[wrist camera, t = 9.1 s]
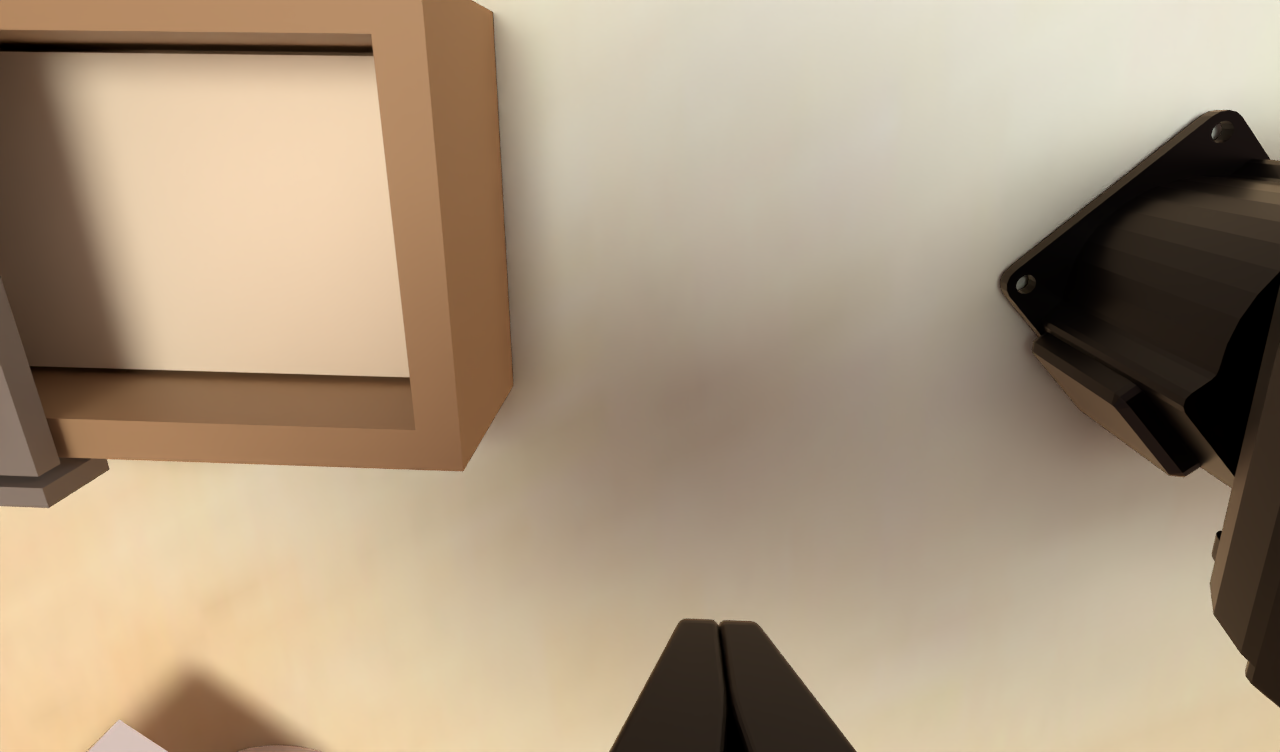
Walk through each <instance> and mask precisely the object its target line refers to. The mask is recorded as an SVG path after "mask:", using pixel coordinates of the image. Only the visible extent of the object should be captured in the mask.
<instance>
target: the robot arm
mask: <svg viewBox="0 0 1280 752" xmlns="http://www.w3.org/2000/svg"><path fill="white" fill-rule="evenodd" d="M1218 123H1220V124H1221V127H1222V131H1221V134H1220V135H1219V137H1218V138H1217V139H1216V140H1214V141H1213V140H1212V136H1211V134H1212V130H1213V128H1214V127H1215V126H1216V125H1217V124H1218ZM1025 275H1028V278H1029V281H1028V284H1027V285H1026V287H1025V288H1023V289H1021V290H1017V288H1016V284H1017V281H1018V280H1019V279H1020V278H1021V277H1023V276H1025ZM1000 288H1001V290H1002V292H1003V294H1004V295H1005V296H1006V298H1007V299H1008V300H1009V301H1010V303H1011V304H1012V305H1013V306H1014V307H1015V309H1016V310H1017V311H1018V312H1019V314H1020V315H1021V316H1022V317H1023V319H1024V320H1025V321H1026V322H1027V323H1028V325H1029V326H1030V327H1031V328H1032V330H1033V331H1034V332H1035V333H1036V334H1037V336H1038V338H1037V339H1036V340H1034V341H1033V347H1032V353H1033V354H1034V355H1035V357H1036V358H1037V359H1038V360H1039V361H1040V363H1041V364H1042V365H1043V366H1044V367H1045V369H1046V370H1047V371H1048V372H1049V374H1050V375H1051V376H1052V377H1053V378H1054V380H1055V381H1056V382H1057V383H1058V384H1059V386H1060V387H1061V388H1062V389H1063V390H1064V392H1065V393H1066V394H1067V395H1068V397H1069V398H1070V399H1071V400H1072V401H1073V403H1074V404H1075V405H1076V406H1077V407H1078V409H1079V410H1080V411H1082V412H1083V413H1084V414H1086V415H1087V416H1089V417H1090V418H1091V419H1093V420H1094V421H1095V422H1097V423H1098V424H1099V425H1101V426H1102V427H1103V428H1105V429H1106V430H1108V431H1109V432H1110V433H1112V434H1113V435H1114V436H1116V437H1117V438H1118V439H1120V440H1121V441H1123V442H1124V443H1125V444H1127V445H1128V446H1129V447H1131V448H1132V449H1133V450H1135V451H1136V452H1138V453H1139V454H1140V455H1142V456H1143V457H1144V458H1146V459H1147V460H1148V461H1150V462H1151V463H1152V464H1154V465H1155V466H1157V467H1158V468H1159V469H1161V470H1162V471H1163V472H1165V473H1166V474H1167V475H1169V476H1178V477H1185V476H1187V475H1188V474H1190V473H1192V472H1193V471H1195V470H1196V469H1198V468H1199V467H1201V468H1202V469H1204V470H1205V471H1207V472H1208V473H1210V474H1211V475H1213V476H1214V477H1216V478H1217V479H1219V480H1220V481H1222V482H1223V483H1225V484H1226V485H1228V486H1229V487H1231V488H1232V491H1231V495H1230V499H1229V503H1228V508H1227V512H1226V516H1225V520H1224V525H1223V529H1222V531H1218V532H1217V533H1216V537H1215V541H1214V546H1213V550H1212V557H1213V559H1214V561H1215V563H1214V567H1213V572H1212V576H1211V580H1210V589H1211V598H1212V606H1213V614H1214V616H1215V617H1216V619H1217V620H1218V621H1219V623H1220V624H1221V626H1222V627H1223V629H1224V630H1225V631H1226V633H1227V634H1228V636H1229V637H1230V639H1231V640H1232V642H1233V643H1234V644H1235V646H1236V647H1237V649H1238V650H1239V652H1240V653H1241V654H1242V655H1243V656H1244V657H1245V658H1246V659H1247V660H1248V662H1247V665H1246V669H1245V675H1246V677H1247V679H1248V680H1249V681H1250V683H1251V684H1252V685H1253V686H1255V687H1256V688H1257V689H1258V690H1259V691H1260V692H1261V693H1263V694H1264V695H1265V696H1266V697H1268V698H1269V699H1270V700H1271V701H1272V702H1274V703H1275V704H1276V705H1277V706H1279V707H1280V161H1277V160H1270V158H1269V157H1268V155H1267V154H1266V152H1265V151H1264V149H1263V148H1262V146H1261V145H1260V143H1259V142H1258V140H1257V138H1256V137H1255V135H1254V134H1253V132H1252V131H1251V129H1250V128H1249V126H1248V125H1247V123H1246V122H1245V120H1244V119H1243V117H1242V116H1241V115H1240V114H1239V113H1238V112H1235V111H1231V110H1215V111H1209V112H1207V113H1205V114H1203V115H1202V116H1200V117H1199V118H1198V119H1196V120H1195V121H1194V122H1192V123H1191V124H1190V125H1189V126H1187V127H1186V128H1185V129H1184V130H1182V131H1181V132H1180V133H1179V134H1177V135H1176V136H1175V137H1173V138H1172V139H1171V140H1170V141H1168V142H1167V143H1166V144H1165V145H1163V146H1162V147H1161V148H1160V149H1158V150H1157V151H1156V152H1154V153H1153V154H1152V155H1151V156H1149V157H1148V158H1147V159H1146V160H1144V161H1143V162H1142V163H1141V164H1139V165H1138V166H1137V167H1136V168H1134V169H1133V170H1132V171H1130V172H1129V173H1128V174H1127V175H1125V176H1124V177H1123V178H1122V179H1120V180H1119V181H1118V182H1117V183H1115V184H1114V185H1113V186H1111V187H1110V188H1109V189H1108V190H1106V191H1105V192H1104V193H1103V194H1101V195H1100V196H1099V197H1098V198H1096V199H1095V200H1094V201H1092V202H1091V203H1090V204H1089V205H1087V206H1086V207H1085V208H1084V209H1082V210H1081V211H1080V212H1079V213H1077V214H1076V215H1075V216H1073V217H1072V218H1071V219H1070V220H1068V221H1067V222H1066V223H1065V224H1063V225H1062V226H1061V227H1060V228H1058V229H1057V230H1056V231H1054V232H1053V233H1052V234H1051V235H1049V236H1048V237H1047V238H1046V239H1044V240H1043V241H1042V242H1041V243H1039V244H1038V245H1037V246H1035V247H1034V248H1033V249H1032V250H1030V251H1029V252H1028V253H1027V254H1025V255H1024V256H1023V257H1022V258H1020V259H1019V260H1018V261H1017V262H1015V263H1014V264H1013V265H1011V266H1010V267H1009V268H1008V269H1007V270H1006V271H1005V272H1004V273H1003V275H1002V278H1001V280H1000ZM609 752H856V750H855V749H854V748H853V746H852V745H851V744H850V743H849V741H848V740H847V739H846V737H845V736H844V735H843V733H842V732H841V731H840V730H839V728H838V727H837V726H836V724H835V723H834V722H833V720H832V719H831V718H830V717H829V715H828V714H827V713H826V711H825V710H824V709H823V707H822V706H821V705H820V704H819V702H818V701H817V700H816V698H815V697H814V696H813V694H812V693H811V692H810V691H809V689H808V688H807V687H806V685H805V684H804V683H803V681H802V680H801V679H800V678H799V676H798V675H797V674H796V672H795V671H794V670H793V669H792V667H791V666H790V665H789V663H788V662H787V661H786V659H785V658H784V657H783V656H782V654H781V653H780V652H779V650H778V649H777V648H776V646H775V645H774V644H773V643H772V641H771V640H770V639H769V637H768V636H767V635H766V633H765V632H764V631H763V630H762V628H761V627H760V626H759V625H758V624H757V623H755V622H752V621H734V620H723V621H722V622H720V624H719V626H718V624H717V623H716V622H715V621H714V620H710V619H682V620H681V621H680V622H679V623H678V625H677V626H676V628H675V630H674V632H673V634H672V636H671V637H670V639H669V641H668V643H667V645H666V647H665V649H664V651H663V652H662V654H661V656H660V658H659V660H658V662H657V664H656V665H655V667H654V669H653V671H652V673H651V675H650V677H649V679H648V680H647V682H646V684H645V686H644V688H643V690H642V692H641V693H640V695H639V697H638V699H637V701H636V703H635V705H634V707H633V708H632V710H631V712H630V714H629V716H628V718H627V720H626V721H625V723H624V725H623V727H622V729H621V731H620V733H619V735H618V736H617V738H616V740H615V742H614V744H613V746H612V748H611V749H610V751H609Z"/></svg>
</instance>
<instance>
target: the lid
mask: <svg viewBox="0 0 1280 752" xmlns="http://www.w3.org/2000/svg"><path fill="white" fill-rule="evenodd" d="M108 470H109V466H108V463H107V459H96V458H67V457H58V454H57V451H56V448H55V445H54V441H53V438H52V435H51V432H50V429H49V426H48V423H47V420H46V417H45V413H44V410H43V407H42V404H41V401H40V398H39V395H38V392H37V388H36V385H35V382H34V379H33V376H32V373H31V370H30V367H29V364H28V360H27V357H26V354H25V351H24V348H23V345H22V342H21V339H20V336H19V332H18V329H17V326H16V323H15V320H14V317H13V314H12V311H11V308H10V304H9V301H8V298H7V295H6V292H5V289H4V286H3V283H2V280H1V276H0V506H12V507H39V508H49V507H51V506H53V505H54V504H56V503H57V502H59V501H60V500H62V499H64V498H65V497H67V496H68V495H70V494H71V493H73V492H75V491H76V490H78V489H79V488H81V487H82V486H84V485H86V484H87V483H89V482H90V481H92V480H94V479H95V478H97V477H98V476H100V475H101V474H103V473H105V472H106V471H108Z"/></svg>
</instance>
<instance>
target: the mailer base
mask: <svg viewBox="0 0 1280 752" xmlns="http://www.w3.org/2000/svg"><path fill="white" fill-rule="evenodd" d="M0 276H1V280H2V283H3V286H4V289H5V292H6V295H7V298H8V301H9V304H10V308H11V311H12V314H13V317H14V320H15V323H16V326H17V329H18V332H19V336H20V339H21V342H22V345H23V348H24V351H25V354H26V357H27V360H28V364H29V367H30V370H31V373H32V376H33V379H34V382H35V385H36V388H37V392H38V395H39V398H40V401H41V404H42V407H43V410H44V413H45V417H46V420H47V423H48V426H49V429H50V432H51V435H52V438H53V441H54V445H55V448H56V451H57V454H58V457H67V458H96V459H125V460H153V461H182V462H211V463H240V464H268V465H297V466H326V467H355V468H384V469H412V470H441V471H464V469H465V467H466V466H467V464H468V462H469V461H470V459H471V457H472V455H473V454H474V452H475V450H476V449H477V447H478V445H479V443H480V442H481V440H482V438H483V437H484V435H485V433H486V431H487V430H488V428H489V426H490V425H491V423H492V421H493V419H494V418H495V416H496V414H497V413H498V411H499V409H500V407H501V406H502V404H503V402H504V401H505V399H506V397H507V396H508V394H509V392H510V390H511V389H512V387H513V371H512V353H511V335H510V317H509V299H508V281H507V263H506V245H505V227H504V209H503V191H502V173H501V155H500V136H499V118H498V100H497V82H496V64H495V46H494V28H493V12H492V11H490V10H488V9H486V8H485V7H483V6H481V5H479V4H477V3H476V2H474V1H472V0H0Z"/></svg>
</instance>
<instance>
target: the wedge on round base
mask: <svg viewBox="0 0 1280 752" xmlns="http://www.w3.org/2000/svg"><path fill="white" fill-rule="evenodd" d="M86 752H168V751H166V750H165V749H163V748H162V747H160V746H159V745H157V744H156V743H154V742H153V741H151V740H149V739H148V738H146V737H145V736H143V735H142V734H140V733H139V732H137V731H136V730H134V729H133V728H131V727H130V726H128V725H127V724H125V723H124V722H122V721H121V720H118V721H117V722H116V723H115V724H114V725H113V726H112V727H111V728H110V729H109V730H108V731H107V732H106V733H105V734H104V735H103V736H102V737H101V738H100V739H99V740H98V741H97V742H96V743H95V744H93V745H92V746H91V747H90V748H89V749H88V750H87V751H86ZM237 752H321V751H317V750H314V749H309V748H303V747H298V746H286V745H268V746H259V747H252V748H248V749H244V750H240V751H237Z"/></svg>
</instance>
